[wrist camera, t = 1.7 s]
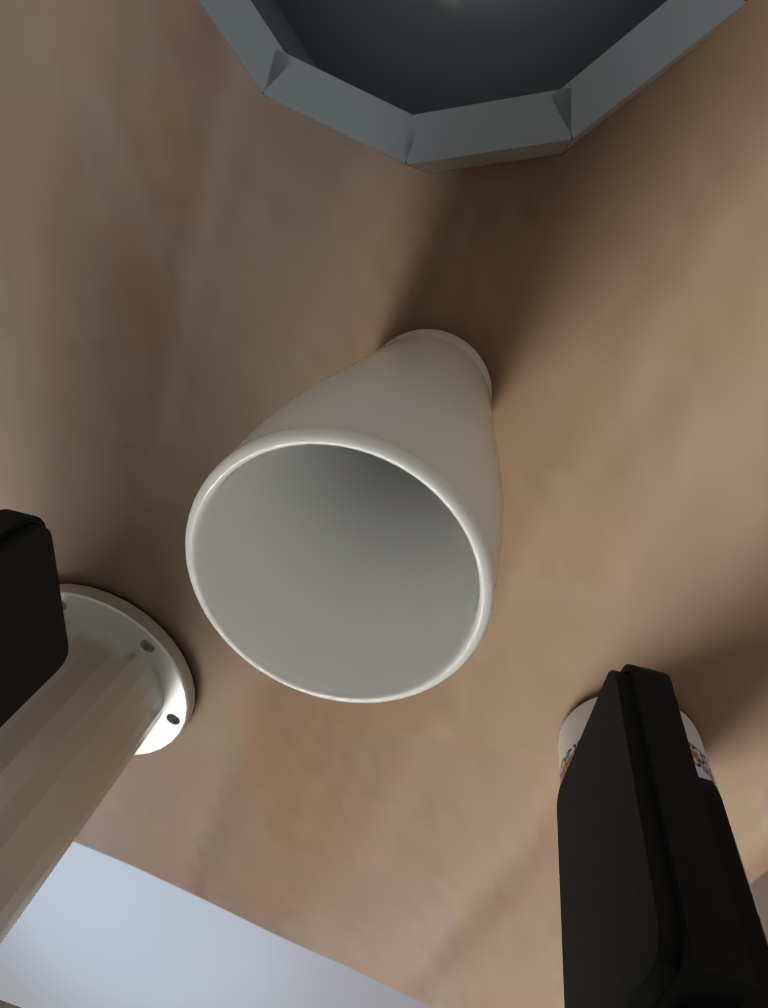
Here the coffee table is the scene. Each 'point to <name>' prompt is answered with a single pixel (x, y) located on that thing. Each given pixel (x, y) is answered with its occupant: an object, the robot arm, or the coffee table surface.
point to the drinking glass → (359, 526)
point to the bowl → (462, 67)
